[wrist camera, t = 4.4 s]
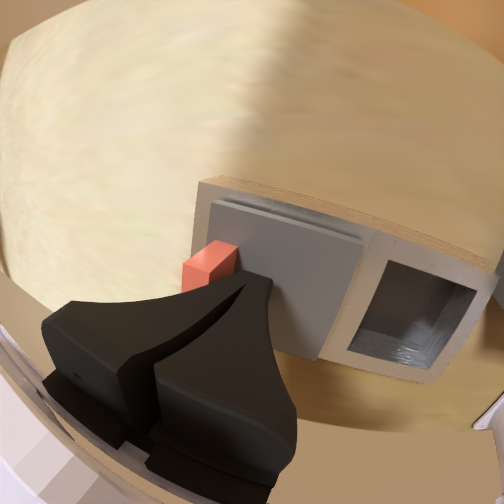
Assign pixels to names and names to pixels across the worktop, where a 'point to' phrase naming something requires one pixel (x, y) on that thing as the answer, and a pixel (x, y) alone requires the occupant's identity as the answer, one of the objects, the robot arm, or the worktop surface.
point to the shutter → (280, 270)
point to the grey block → (500, 283)
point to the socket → (379, 283)
